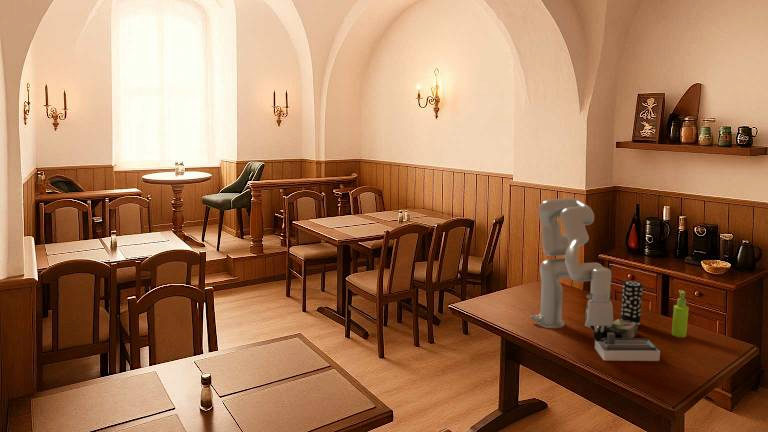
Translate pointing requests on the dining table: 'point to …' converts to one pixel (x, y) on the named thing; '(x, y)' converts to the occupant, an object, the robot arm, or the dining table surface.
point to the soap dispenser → (680, 317)
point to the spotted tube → (631, 301)
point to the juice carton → (622, 329)
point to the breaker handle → (610, 338)
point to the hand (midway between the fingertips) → (597, 340)
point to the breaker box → (627, 350)
